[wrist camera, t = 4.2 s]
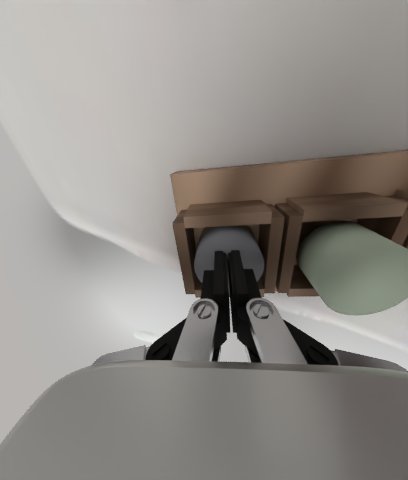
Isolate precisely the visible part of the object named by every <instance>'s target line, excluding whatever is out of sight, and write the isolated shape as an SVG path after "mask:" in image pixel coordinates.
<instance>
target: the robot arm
mask: <svg viewBox="0 0 408 480" xmlns="http://www.w3.org/2000/svg"><path fill="white" fill-rule="evenodd" d="M228 266H229V288H228V275H227V263H226V253H223V252H222V251H215V255H214V270H204V274H203V282H202V291H201V299H199V300H198V301H196V302H194V303H193V304H192V306H191V308H190V311H189V313H188V316H187V318H186V319H184V320H183V321H182V322H180V323H179V324H178V325H176V326H175V327H174V328H172V329H171V330H170V331H168V332H167V333H166V334H164V335H163V336H162V337H160V338H159V339H158V340H157V341H155V342H154V343H153V344H152V345H151V346H150V347H145V345H144V346H140V347H136V348H131V349H127V350H122V351H118V352H113V353H109V354H106V355H103V356H101V357H100V358H98V359H97V360H96V361H95V362H94V363H93V364H92V365H91V366H88V367H85V368H82V369H80V370H77V371H75V372H73V373H70V374H68V375H66V376H65V377H63V378H61V379H59V380H58V381H57V382H55V383H54V384H52V385H51V386H50V387H49V388H48V389H47V390H46V391H45V392H44V393H43V394H42V395H41V396H40V397H39V398H38V399H37V400H36V401H35V402H34V403H33V404H32V406H31V407H30V408H29V409H28V410H27V411H26V413H25V414H24V415H23V416H22V417H21V419H20V420H19V421H18V422H17V424H16V425H15V426H14V427H13V429H12V430H11V431H10V432H9V434H8V435H7V436H6V438H5V439H4V440H3V441H2V443H1V444H0V480H408V371H407V370H406V369H404V368H403V367H401V366H399V365H398V364H395V363H392V362H390V361H386V360H382V359H377V358H373V357H368V356H364V355H360V354H355V353H351V352H346V351H341V350H337V349H335V351H331V350H329V349H328V348H327V347H325V346H324V345H323V344H321V343H320V342H318V341H316V340H315V339H313V338H312V337H310V336H309V335H307V334H306V333H304V332H302V331H301V330H299V329H297V328H296V327H294V326H293V325H291V324H290V323H288V322H286V321H285V320H283V319H282V318H281V316H280V314H279V312H278V310H277V309H276V307H275V306H274V304H273V303H271V302H270V301H268V300H266V299H263V298H261V294H260V291H259V288H258V284H257V281H256V278H255V275H254V271H253V269H243V264H242V260H241V256H240V251H239V250H231V253H228ZM229 290H230V301H231V311H232V312H231V313H232V325H233V332H236V333H237V338H238V339H239V340H240V341H241V342H242V343H243V344H244V345H245V350H246V353H247V357H248V360H249V363H247V362H219V360H220V353H221V345H222V344H223V343H224V342H225V341H226V340H227V334H226V332H230V309H229Z"/></svg>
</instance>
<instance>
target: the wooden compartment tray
mask: <svg viewBox="0 0 408 480" xmlns="http://www.w3.org/2000/svg"><path fill="white" fill-rule="evenodd" d="M170 175H171V181H172V187H173V193H174V199H175V204H176V210H177V217H176V219H175V220H174V222H173V229H174V234H175V239H176V244H177V250H178V255H179V260H180V266H181V271H182V276H183V281H184V286H185V291H186V294H195V295H196V297H201V291H202V283H201V281H200V280H199V279H198V277H197V275H196V273H195V269H194V261H195V257H196V252H197V247H198V243H199V238H200V235H201V232H202V231H203V229H204V228H205V227H219V226H237V225H248V226H249V228H250V229H251V231H252V232H253V235H254V237H255V239H256V242H257V244H258V246H259V249H260V251H261V253H262V256H263V259H264V271H263V273H262V276H261V277H260V279H259V280H258V281H257V284H258V288H259V291H260V294H261V297H264V293H275V291H278V293H287V295H288V297H289V296H319V294H318V293H317V291H316V290H315V289H314V287H313V286H312V284H311V283H310V282H309V280H308V279H307V277H306V276H305V275H304V273H303V272H302V270H301V269H300V267H299V266H298V264H297V260H296V253H297V249H298V247H299V245H300V243H301V242H302V240H303V239H304V238H305V237H306V236H307V235H308V234H309V233H310V232H311V231H313V230H314V229H316V228H318V227H319V226H321V225H324V224H326V223H330V222H334V221H351V222H355V223H357V224H359V225H361V226H363V227H365V228H367V229H369V230H371V231H373V232H375V233H377V234H379V235H381V236H383V237H385V238H387V239H389V240H391V241H393V242H395V243H397V244H399V245H401V246H403V247H405V248H407V249H408V150H404V151H394V152H383V153H372V154H362V155H351V156H340V157H329V158H319V159H308V160H297V161H286V162H276V163H265V164H254V165H243V166H233V167H222V168H211V169H201V170H190V171H179V172H175V173H172V174H170ZM229 297H230V293H229Z"/></svg>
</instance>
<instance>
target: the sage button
mask: <svg viewBox="0 0 408 480" xmlns="http://www.w3.org/2000/svg"><path fill="white" fill-rule="evenodd" d="M296 260H297V264H298V266H299V267H300V269H301V270H302V272H303V273H304V275H305V276H306V277H307V279H308V280H309V282H310V283H311V284H312V286H313V287H314V289H315V290H316V291H317V293H318V294H319V296H320V297H321V299H322V300H323V301H324V303H325V304H326V305H327V306H328V307H329V308H330V309H332V310H333V311H335V312H338V313H341V314H346V315H367V314H372V313H376V312H380V311H383V310H386V309H388V308H391V307H393V306H395V305H397V304H398V303H400V302H402V301H403V300H405V299H406V298H407V297H408V249H407V248H405V247H403V246H401V245H399V244H397V243H395V242H393V241H391V240H389V239H387V238H385V237H383V236H381V235H379V234H377V233H375V232H373V231H371V230H369V229H367V228H365V227H363V226H361V225H359V224H357V223H355V222H351V221H334V222H330V223H326V224H324V225H321V226H319V227H318V228H316V229H314V230H313V231H311V232H310V233H309V234H308V235H307V236H306V237H305V238H304V239H303V240H302V242H301V243H300V245H299V247H298V249H297V253H296Z"/></svg>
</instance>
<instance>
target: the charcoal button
mask: <svg viewBox="0 0 408 480" xmlns="http://www.w3.org/2000/svg"><path fill="white" fill-rule="evenodd" d="M231 250H239V251H240V256H241V260H242V264H243V269H253V271H254V275H255V278H256V281H258V280H259V279H260V277H261V276H262V273H263V271H264V259H263V256H262V253H261V251H260V249H259V246H258V244H257V242H256V239H255V237H254V235H253V232H252V231H251V229H250V228H249V226H248V225H237V226H219V227H205V228H204V229H203V231H202V232H201V235H200V238H199V243H198V247H197V252H196V257H195V261H194V269H195V273H196V275H197V277H198V279H199V280H200V281H201V283H202V282H203V274H204V270H214V255H215V251H222V252H223V253H226V263H227V275H228V288H229V266H228V253H231ZM229 293H230V290H229Z"/></svg>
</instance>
